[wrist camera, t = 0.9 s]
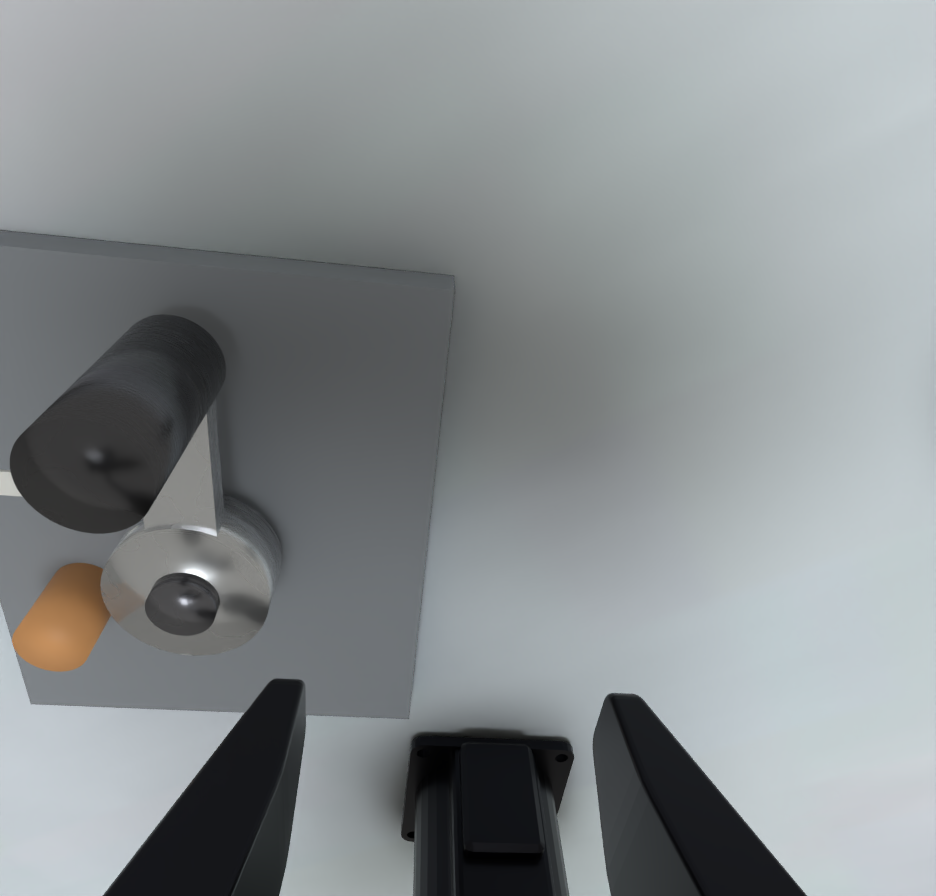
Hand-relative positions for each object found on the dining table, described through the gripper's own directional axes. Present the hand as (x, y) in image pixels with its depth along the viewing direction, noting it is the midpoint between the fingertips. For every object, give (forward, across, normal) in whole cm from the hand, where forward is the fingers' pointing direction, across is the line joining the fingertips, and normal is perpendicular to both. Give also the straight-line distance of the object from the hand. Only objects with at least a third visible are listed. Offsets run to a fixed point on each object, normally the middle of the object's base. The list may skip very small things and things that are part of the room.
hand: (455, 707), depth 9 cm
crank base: (+12, +6, +6) cm, 15 cm away
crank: (+11, +6, +4) cm, 13 cm away
